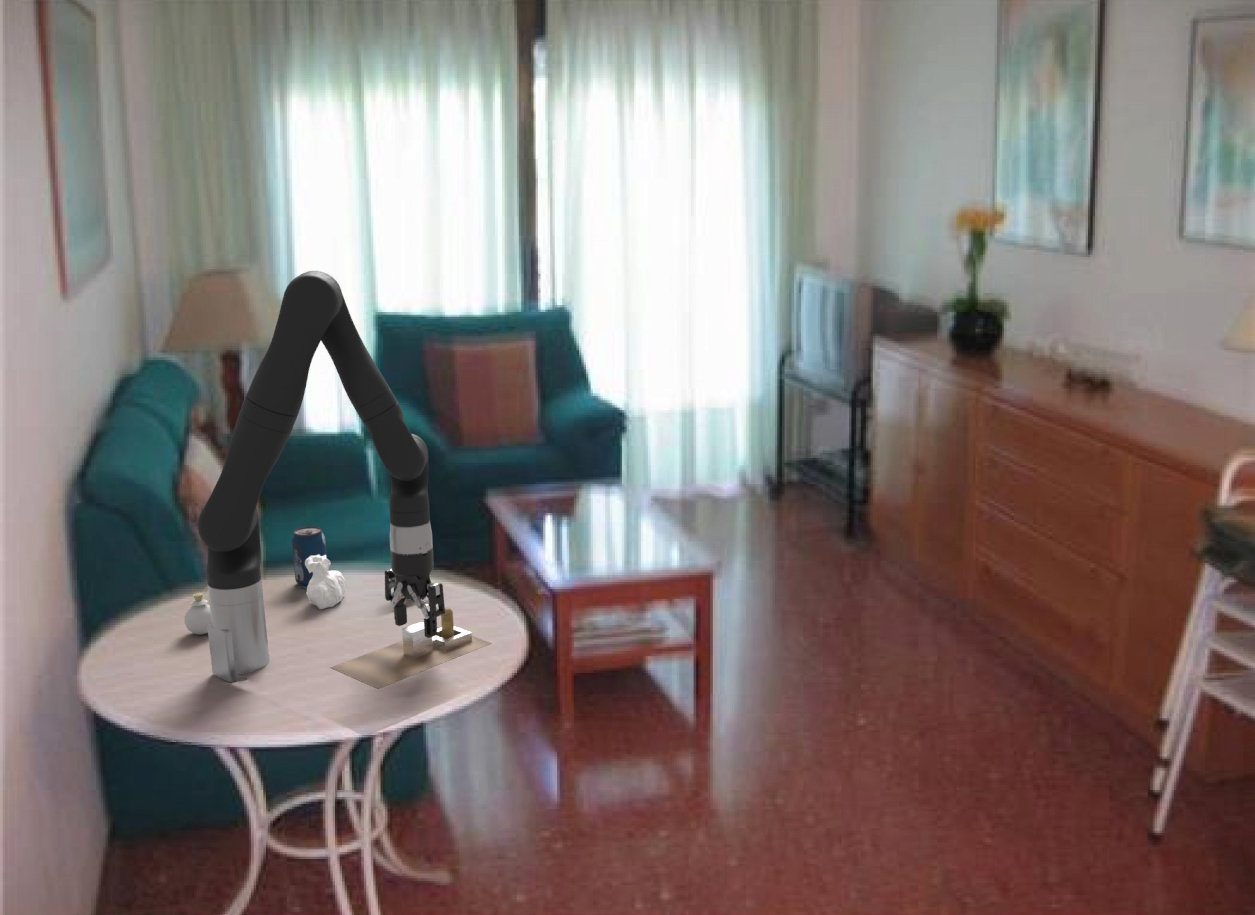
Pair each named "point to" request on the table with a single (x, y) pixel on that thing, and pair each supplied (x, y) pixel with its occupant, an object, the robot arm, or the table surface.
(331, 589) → the white tied bag
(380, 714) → the table surface
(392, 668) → the board
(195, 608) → the white potion bottle
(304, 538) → the soda can
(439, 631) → the steel link
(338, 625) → the table surface
